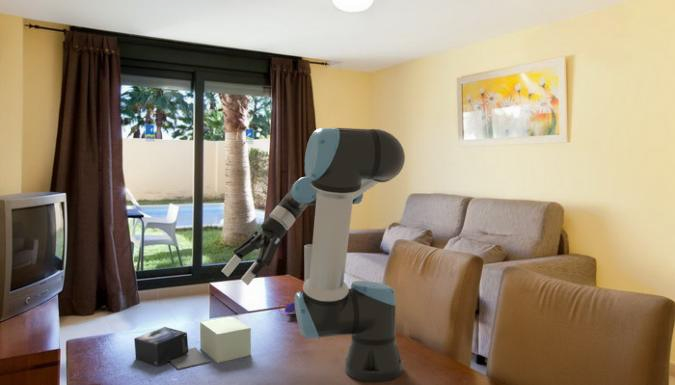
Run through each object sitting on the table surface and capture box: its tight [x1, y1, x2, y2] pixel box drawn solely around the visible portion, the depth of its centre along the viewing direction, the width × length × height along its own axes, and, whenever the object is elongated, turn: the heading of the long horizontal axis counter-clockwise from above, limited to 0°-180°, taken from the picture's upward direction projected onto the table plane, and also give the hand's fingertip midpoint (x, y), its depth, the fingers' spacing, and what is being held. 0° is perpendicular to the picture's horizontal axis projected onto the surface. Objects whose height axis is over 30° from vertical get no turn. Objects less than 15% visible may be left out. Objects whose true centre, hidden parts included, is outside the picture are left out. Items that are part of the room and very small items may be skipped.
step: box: [199, 316, 252, 364], centre depth 143 cm, size 14×10×8 cm
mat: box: [169, 347, 211, 371], centre depth 138 cm, size 13×9×1 cm
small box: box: [134, 326, 189, 367], centre depth 139 cm, size 11×6×10 cm
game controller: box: [279, 299, 296, 316], centre depth 180 cm, size 10×8×10 cm
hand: (234, 278), depth 144 cm, fingers open, 13 cm apart
